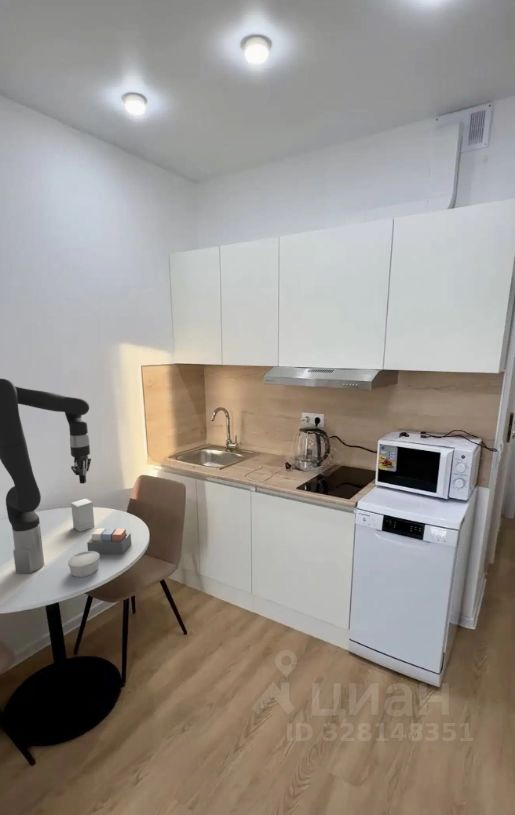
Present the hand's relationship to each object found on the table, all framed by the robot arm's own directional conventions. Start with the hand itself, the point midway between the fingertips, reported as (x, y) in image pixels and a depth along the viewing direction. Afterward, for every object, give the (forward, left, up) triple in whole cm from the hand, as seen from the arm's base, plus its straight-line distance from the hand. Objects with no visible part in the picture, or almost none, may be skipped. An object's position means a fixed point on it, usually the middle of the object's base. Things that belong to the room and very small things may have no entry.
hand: (83, 482), depth 170 cm
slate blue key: (-7, -13, -24) cm, 28 cm away
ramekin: (-23, -11, -27) cm, 37 cm away
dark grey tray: (-7, -13, -27) cm, 31 cm away
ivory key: (-7, -9, -24) cm, 26 cm away
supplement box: (+12, +8, -27) cm, 31 cm away
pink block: (-7, -18, -24) cm, 31 cm away
